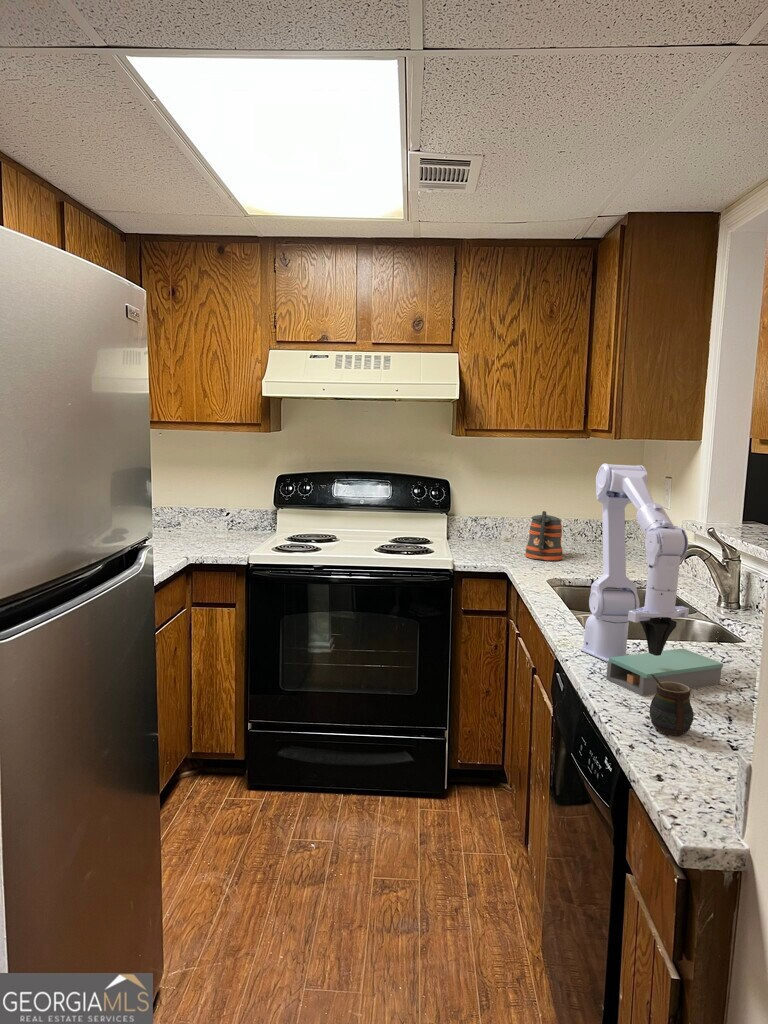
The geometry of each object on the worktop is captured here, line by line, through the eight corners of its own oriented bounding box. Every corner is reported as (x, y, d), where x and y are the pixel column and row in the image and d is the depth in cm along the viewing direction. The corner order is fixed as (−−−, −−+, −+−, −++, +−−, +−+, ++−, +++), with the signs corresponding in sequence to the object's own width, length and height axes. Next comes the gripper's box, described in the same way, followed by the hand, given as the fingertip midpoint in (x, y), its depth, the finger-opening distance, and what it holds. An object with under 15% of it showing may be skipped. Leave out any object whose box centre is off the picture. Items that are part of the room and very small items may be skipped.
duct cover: (608, 661, 153) (608, 657, 153) (682, 651, 162) (683, 648, 162) (646, 678, 144) (646, 674, 143) (722, 667, 153) (723, 663, 153)
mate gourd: (700, 739, 125) (705, 683, 124) (657, 739, 124) (662, 682, 123) (680, 722, 132) (685, 668, 131) (639, 721, 132) (644, 668, 130)
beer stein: (561, 565, 281) (566, 513, 279) (523, 561, 285) (527, 510, 282) (562, 556, 300) (566, 508, 297) (525, 553, 303) (529, 505, 301)
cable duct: (604, 678, 154) (605, 660, 153) (679, 667, 163) (681, 651, 163) (642, 696, 144) (644, 677, 144) (719, 684, 154) (721, 666, 154)
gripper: (650, 594, 139) (643, 663, 141) (703, 590, 146) (696, 656, 148) (623, 586, 146) (616, 652, 147) (675, 582, 152) (668, 646, 154)
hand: (654, 654), depth 148 cm, fingers closed
